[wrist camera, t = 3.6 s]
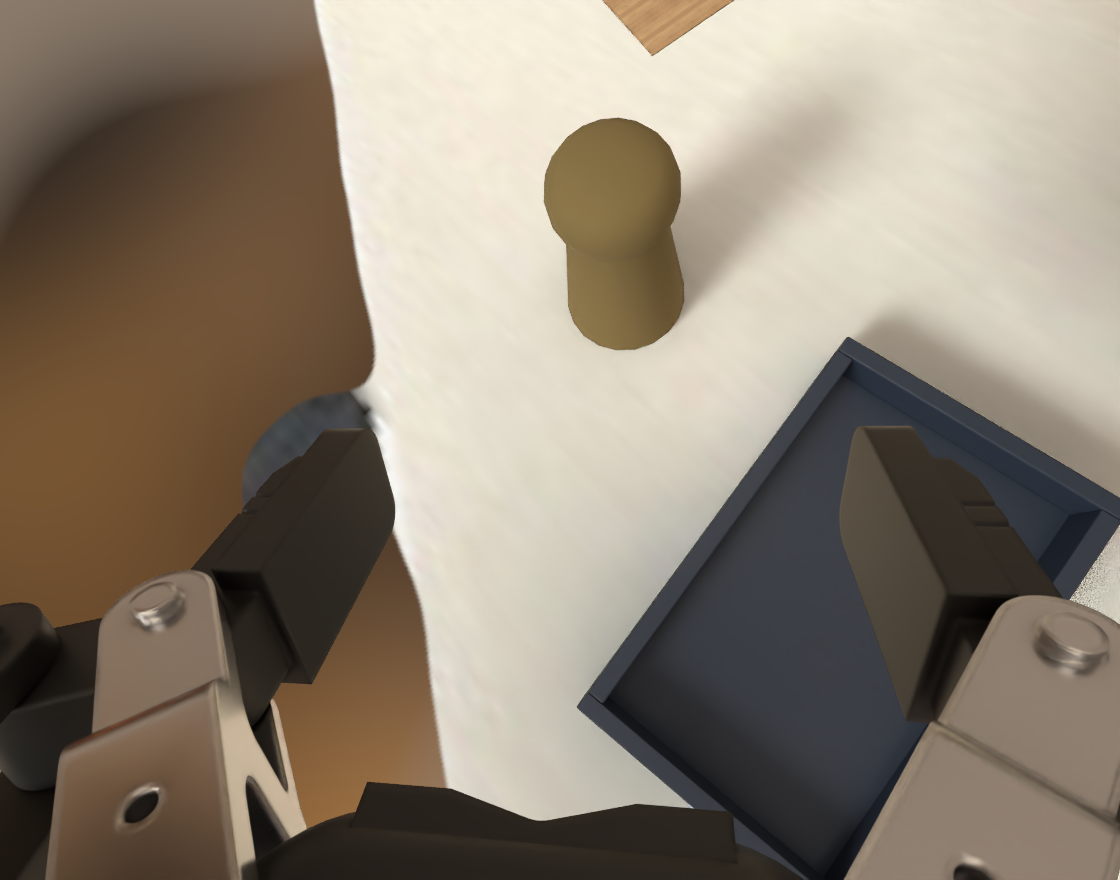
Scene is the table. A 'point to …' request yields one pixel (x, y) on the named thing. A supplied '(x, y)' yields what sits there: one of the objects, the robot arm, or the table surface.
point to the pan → (813, 622)
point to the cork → (617, 231)
